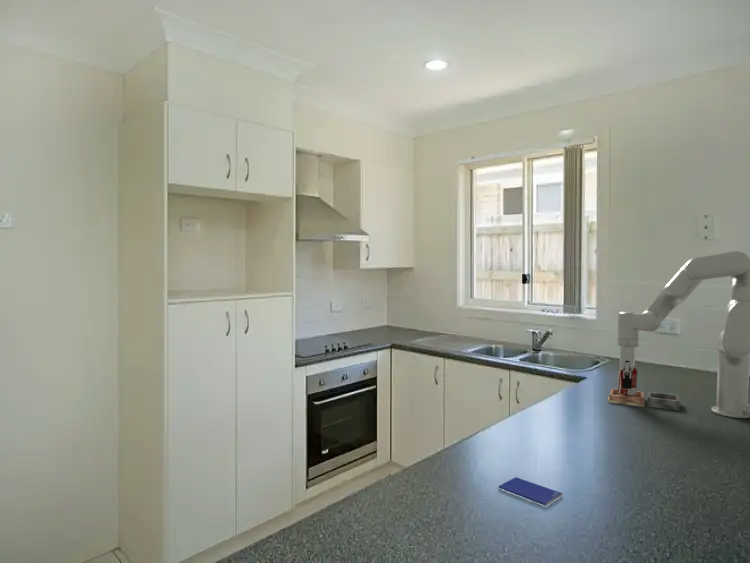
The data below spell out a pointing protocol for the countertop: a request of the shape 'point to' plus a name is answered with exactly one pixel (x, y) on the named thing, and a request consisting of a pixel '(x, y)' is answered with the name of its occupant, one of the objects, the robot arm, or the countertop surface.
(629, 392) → the soda can
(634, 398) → the dock
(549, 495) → the hard drive
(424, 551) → the countertop surface
